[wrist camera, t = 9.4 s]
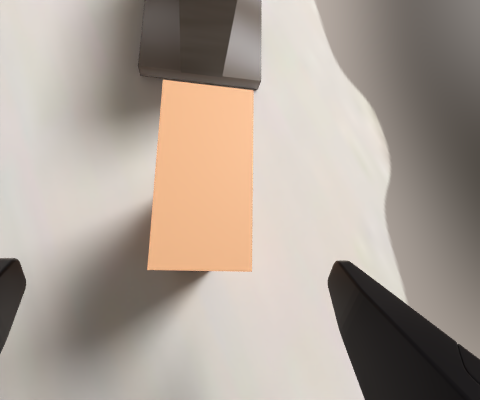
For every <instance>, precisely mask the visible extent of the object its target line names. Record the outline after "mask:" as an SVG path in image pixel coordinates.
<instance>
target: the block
mask: <svg viewBox="0 0 480 400" xmlns="http://www.w3.org/2000/svg"><path fill="white" fill-rule="evenodd" d="M252 197H253V90H246V89H238V88H229V87H221V86H212V85H204V84H195V83H187V82H178V81H170V80H163V84H162V97H161V109H160V121H159V133H158V145H157V157H156V169H155V181H154V194H153V206H152V218H151V230H150V242H149V254H148V266H147V270H183V271H243V272H252Z"/></svg>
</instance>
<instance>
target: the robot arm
mask: <svg viewBox="0 0 480 400" xmlns="http://www.w3.org/2000/svg"><path fill="white" fill-rule="evenodd" d="M25 288H26V279H25V276H24V273H23V270H22V267H21V264H20V262H19V260H18V259H15V258H0V353H1V351H2V349H3V347H4V345H5V342H6V340H7V337H8V335H9V332H10V329H11V326H12V324H13V321H14V318H15V315H16V313H17V310H18V307H19V305H20V302H21V299H22V296H23V294H24V291H25ZM328 288H329V292H330V296H331V300H332V304H333V308H334V312H335V316H336V319H337V323H338V327H339V330H340V333H341V336H342V339H343V342H344V345H345V347H346V350H347V353H348V355H349V358H350V361H351V364H352V366H353V369H354V372H355V374H356V377H357V380H358V382H359V385H360V388H361V390H362V393H363V396H364V398H365V400H480V359H478V358H477V357H476V356H474V355H473V354H472V353H470V352H469V351H468V350H467V349H465V348H464V347H462V346H461V345H460V344H457V342H456V341H454V340H453V339H452V338H450V337H449V336H448V335H447V334H445V333H444V332H443V331H441V330H440V329H439V328H437V327H436V326H435V325H433V324H432V323H430V322H429V321H428V320H427V319H425V318H424V317H423V316H421V315H420V314H419V313H417V312H416V311H414V310H413V309H412V308H411V307H409V306H408V305H407V304H406V303H404V302H403V301H402V300H400V299H399V298H398V297H396V296H395V295H394V294H392V293H391V292H390V291H388V290H387V289H386V288H384V287H383V286H382V285H380V284H379V283H378V282H376V281H375V280H374V279H372V278H371V277H370V276H368V275H367V274H366V273H364V272H363V271H362V270H360V269H359V268H358V267H357V266H355V265H354V264H353V263H351V262H350V261H336V262H335V263H334V265H333V267H332V270H331V273H330V275H329V278H328Z"/></svg>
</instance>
